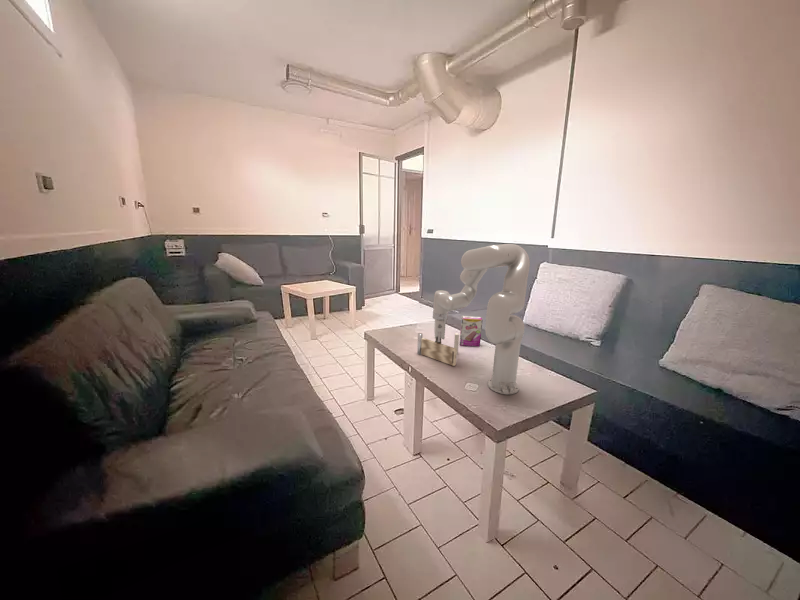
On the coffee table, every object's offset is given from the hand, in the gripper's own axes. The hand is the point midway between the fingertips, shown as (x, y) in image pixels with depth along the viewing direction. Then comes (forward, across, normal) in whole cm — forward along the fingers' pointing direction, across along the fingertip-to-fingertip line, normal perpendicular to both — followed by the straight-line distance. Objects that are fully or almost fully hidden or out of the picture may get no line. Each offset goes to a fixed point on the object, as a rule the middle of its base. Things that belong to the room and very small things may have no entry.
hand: (437, 349), depth 162 cm
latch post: (+4, +5, -10) cm, 12 cm away
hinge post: (+4, +2, +9) cm, 10 cm away
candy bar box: (+4, +18, -19) cm, 26 cm away
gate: (+3, -5, 0) cm, 6 cm away
